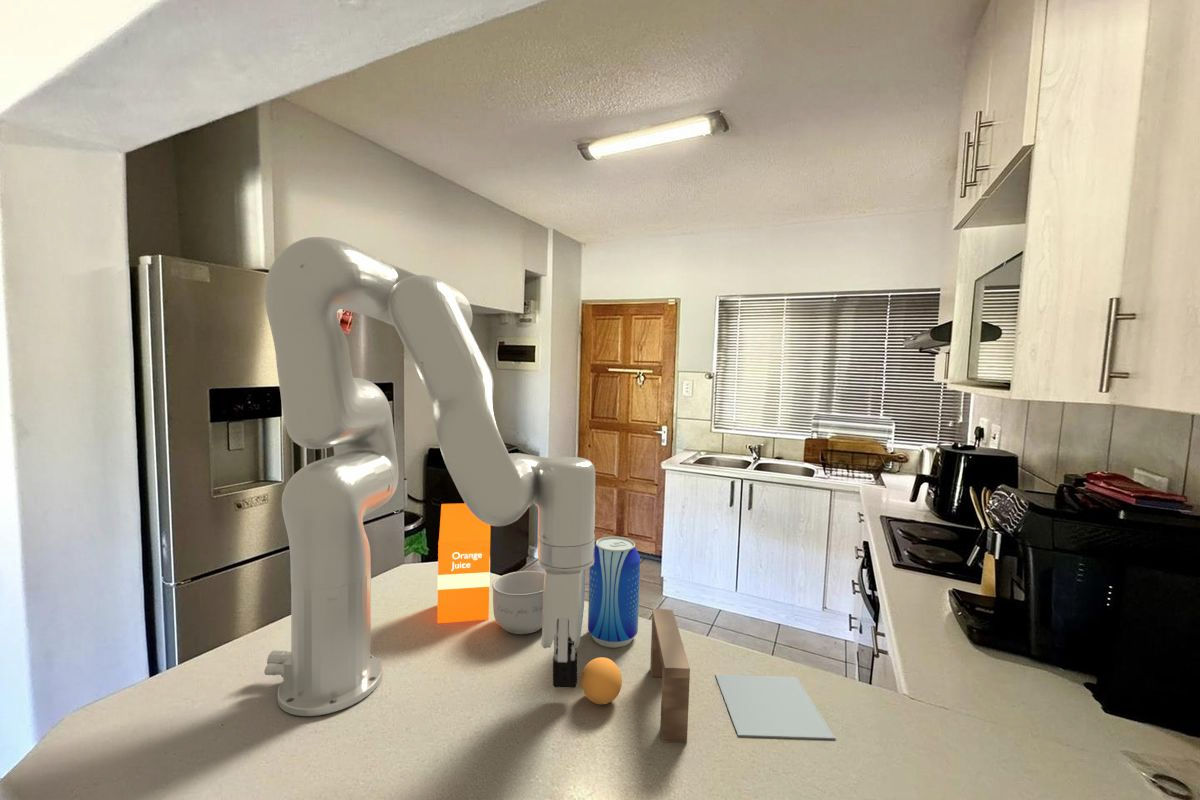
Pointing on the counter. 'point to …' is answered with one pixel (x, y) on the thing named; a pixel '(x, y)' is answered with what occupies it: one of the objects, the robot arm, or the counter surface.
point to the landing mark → (771, 707)
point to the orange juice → (463, 565)
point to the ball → (601, 680)
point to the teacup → (519, 601)
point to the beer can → (614, 592)
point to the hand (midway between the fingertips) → (565, 683)
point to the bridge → (670, 675)
